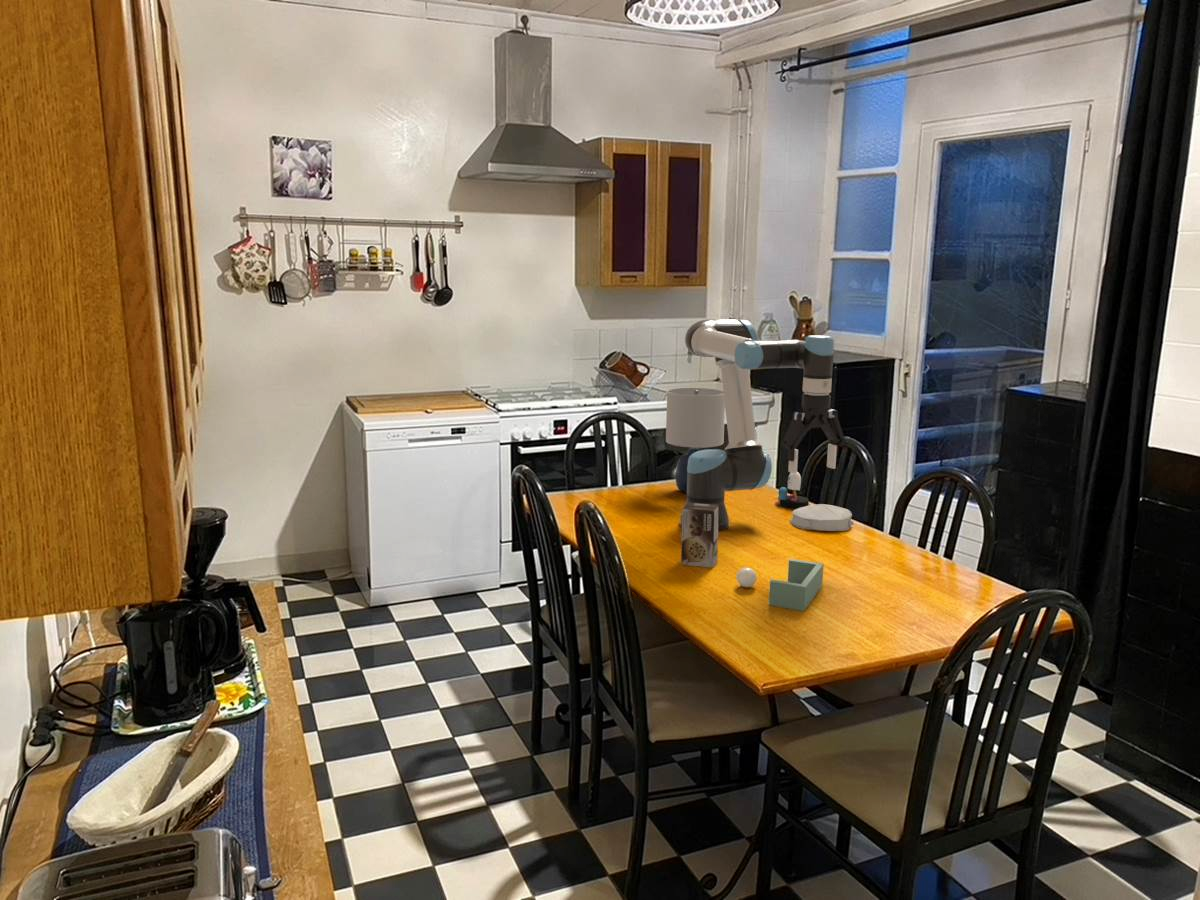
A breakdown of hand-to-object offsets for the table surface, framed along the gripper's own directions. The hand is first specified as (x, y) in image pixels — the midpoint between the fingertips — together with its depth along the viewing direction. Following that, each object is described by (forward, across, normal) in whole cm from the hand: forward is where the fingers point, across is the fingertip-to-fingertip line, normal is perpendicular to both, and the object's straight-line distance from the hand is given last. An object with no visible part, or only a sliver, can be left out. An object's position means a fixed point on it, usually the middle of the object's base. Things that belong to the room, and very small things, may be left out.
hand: (812, 470), depth 247 cm
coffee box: (+25, -30, +8) cm, 40 cm away
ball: (+22, -30, -12) cm, 40 cm away
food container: (+25, +26, +24) cm, 44 cm away
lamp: (+25, +12, +75) cm, 80 cm away
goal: (+25, -23, -22) cm, 40 cm away
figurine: (+25, +32, +45) cm, 61 cm away
